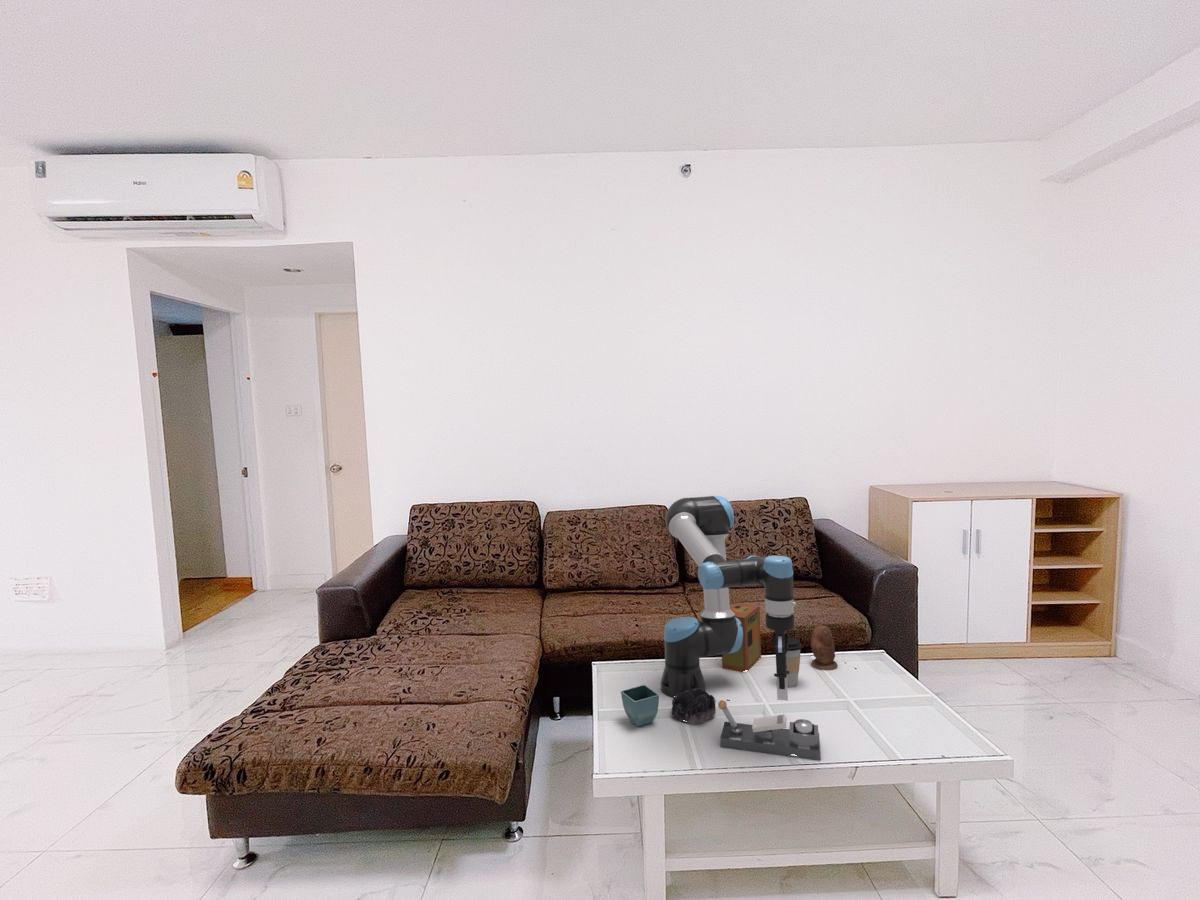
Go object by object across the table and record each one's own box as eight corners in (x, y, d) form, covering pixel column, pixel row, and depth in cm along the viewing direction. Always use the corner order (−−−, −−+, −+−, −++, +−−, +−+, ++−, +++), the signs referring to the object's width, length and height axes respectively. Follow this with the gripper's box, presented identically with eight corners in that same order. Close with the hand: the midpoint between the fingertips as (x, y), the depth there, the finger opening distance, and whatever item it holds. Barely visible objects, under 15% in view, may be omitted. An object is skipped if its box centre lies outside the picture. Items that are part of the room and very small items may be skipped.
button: (795, 740, 162) (795, 725, 162) (795, 732, 167) (795, 718, 167) (812, 742, 161) (812, 727, 161) (812, 734, 165) (812, 720, 165)
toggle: (730, 729, 169) (715, 704, 170) (731, 725, 171) (717, 700, 172) (738, 726, 168) (723, 701, 169) (738, 722, 171) (724, 697, 172)
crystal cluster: (669, 708, 192) (665, 678, 191) (711, 703, 192) (708, 673, 191) (675, 732, 179) (671, 700, 178) (720, 726, 179) (716, 694, 178)
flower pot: (635, 731, 176) (634, 701, 176) (621, 719, 184) (620, 690, 184) (660, 724, 180) (659, 694, 180) (645, 712, 188) (644, 684, 188)
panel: (720, 746, 166) (719, 727, 166) (724, 729, 176) (724, 711, 176) (820, 760, 158) (819, 740, 158) (819, 741, 167) (818, 722, 167)
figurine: (810, 671, 217) (806, 629, 217) (811, 661, 226) (806, 621, 227) (837, 671, 214) (833, 629, 214) (837, 662, 223) (832, 621, 223)
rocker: (753, 732, 165) (751, 727, 165) (754, 722, 171) (753, 718, 171) (786, 727, 163) (784, 723, 163) (786, 718, 168) (785, 713, 168)
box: (746, 673, 216) (744, 617, 215) (722, 668, 221) (720, 614, 220) (761, 657, 230) (759, 605, 229) (738, 653, 235) (736, 602, 234)
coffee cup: (799, 677, 210) (798, 635, 210) (806, 689, 201) (804, 645, 200) (771, 677, 211) (770, 635, 211) (777, 689, 202) (775, 645, 201)
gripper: (793, 621, 157) (796, 710, 158) (794, 607, 170) (797, 690, 170) (764, 619, 160) (767, 707, 160) (766, 606, 172) (769, 688, 172)
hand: (782, 698), depth 165 cm, fingers closed
